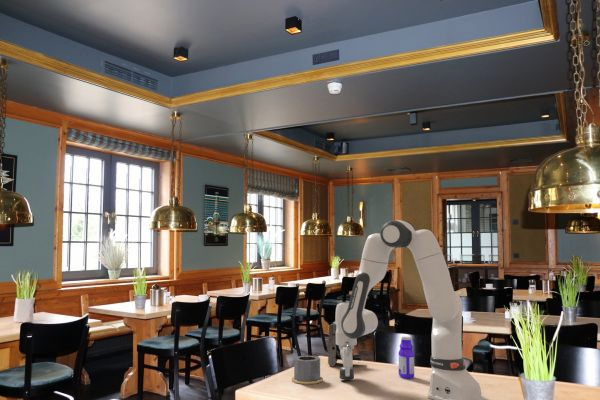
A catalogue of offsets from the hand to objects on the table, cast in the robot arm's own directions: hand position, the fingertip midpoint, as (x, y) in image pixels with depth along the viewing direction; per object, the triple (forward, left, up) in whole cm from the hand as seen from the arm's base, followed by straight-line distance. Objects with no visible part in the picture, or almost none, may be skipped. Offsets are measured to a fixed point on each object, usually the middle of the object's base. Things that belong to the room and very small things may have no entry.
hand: (346, 373), depth 218 cm
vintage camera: (+24, -16, -3) cm, 29 cm away
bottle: (-8, -26, -3) cm, 27 cm away
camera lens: (0, 0, -2) cm, 2 cm away
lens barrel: (+8, +14, -3) cm, 17 cm away
